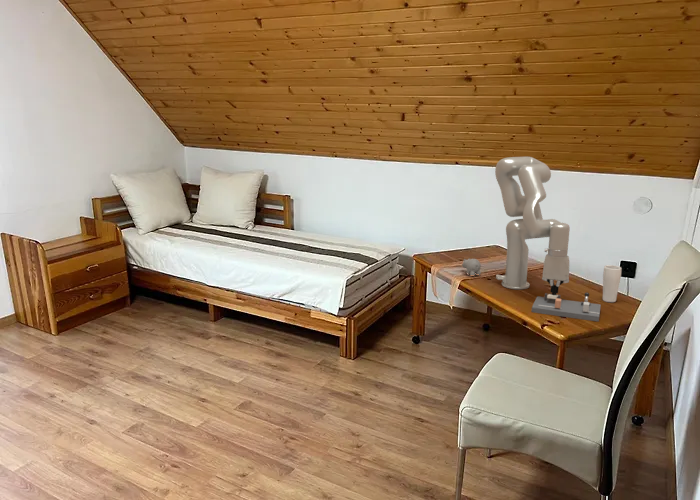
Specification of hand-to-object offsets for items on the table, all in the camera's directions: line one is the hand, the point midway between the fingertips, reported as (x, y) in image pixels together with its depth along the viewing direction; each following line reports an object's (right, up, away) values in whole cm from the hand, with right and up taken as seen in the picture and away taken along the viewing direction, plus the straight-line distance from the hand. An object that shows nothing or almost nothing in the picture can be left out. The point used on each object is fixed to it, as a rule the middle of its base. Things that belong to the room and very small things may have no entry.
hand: (554, 294), depth 229 cm
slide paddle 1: (-2, -4, -10) cm, 12 cm away
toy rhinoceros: (-26, +7, +44) cm, 51 cm away
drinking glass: (+25, -3, +3) cm, 25 cm away
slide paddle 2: (+7, -5, -15) cm, 17 cm away
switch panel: (+2, -6, -8) cm, 10 cm away
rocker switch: (-2, -1, -3) cm, 3 cm away
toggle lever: (+10, -3, -8) cm, 13 cm away
